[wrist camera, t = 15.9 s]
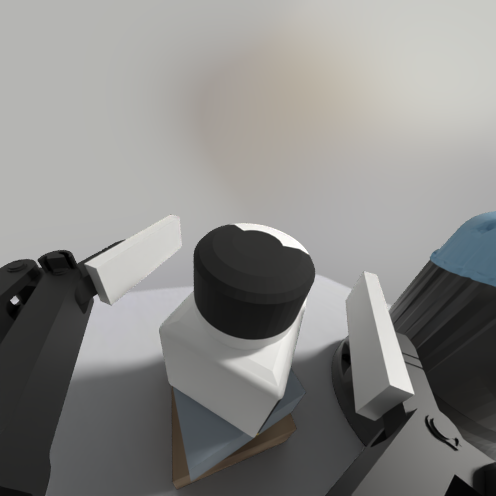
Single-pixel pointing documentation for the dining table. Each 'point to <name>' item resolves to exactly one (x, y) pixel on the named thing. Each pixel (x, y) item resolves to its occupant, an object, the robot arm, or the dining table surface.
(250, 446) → the tower base block
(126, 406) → the dining table surface
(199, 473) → the tower top block
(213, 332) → the medicine bottle
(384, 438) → the robot arm
